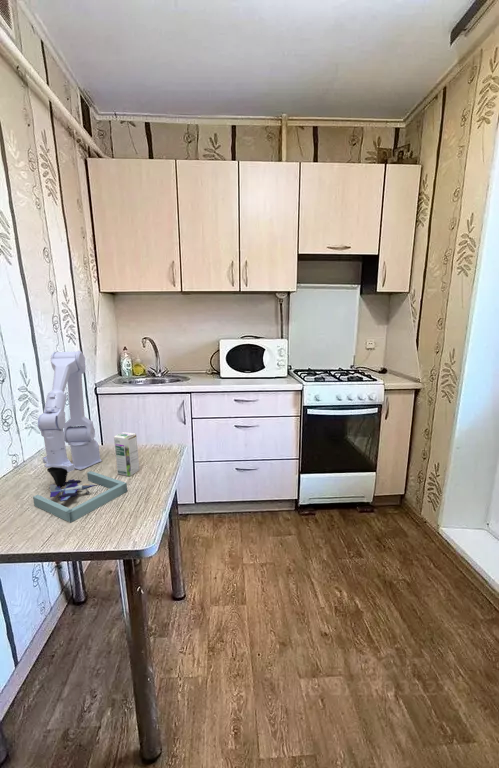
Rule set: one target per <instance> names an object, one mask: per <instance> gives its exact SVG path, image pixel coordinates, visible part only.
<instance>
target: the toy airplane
mask: <svg viewBox="0 0 499 768" xmlns="http://www.w3.org/2000/svg"><path fill="white" fill-rule="evenodd" d="M81 483H82V480H81V479H69V480H68V481H67V480H66V482H64V483H63V485H65V486H64V488H62V487H61V488H60V486H57V485H56V484H49V491H50V492H49V493H50V494H49V496H50V497H49V498H55V497H56V496H57V498H58V499H59V502H64V501H68V500H69V499H71V498H75V497H77V496H78V495H79V493H83V491H84V490H85V491H86V492H85V493H86V495H90V494H91V493H90V491H89V490H88V489H90V488H94V487H96V486H98V484H90V483H83V484H81ZM80 484H81V485H80ZM102 485H103V484H101V485H100V486H102Z"/></svg>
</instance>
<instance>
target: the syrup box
mask: <svg viewBox="0 0 499 768" xmlns="http://www.w3.org/2000/svg"><path fill="white" fill-rule="evenodd" d="M137 437H138V436H137V433H133V432H126V431H123V432H120V433H117V434H116V435H115V436H113V441H114V450H115V452H114V453H115V459H116V469H117V470H116V471H117V472H116V473H117V475H120V476H121V475H122V476H127V477H131V476H133V475H134V474H135V473H137V472H138V471H140V469H141V468H140V461H139V460H140V459H139V449H138V438H137Z"/></svg>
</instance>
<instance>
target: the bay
mask: <svg viewBox="0 0 499 768" xmlns="http://www.w3.org/2000/svg"><path fill="white" fill-rule="evenodd" d="M86 476H87V477H86V478H87V481H88V482H91V483H94V484H95V485H98V486H102V487H105V488H108V489H107V490H105V491H103V492H101V493H99V494H97V495H96V496H94V497H92V498H89V499H88V500H86V501H84V502H81V503H80V504H78V505H76V506H74V507H72V508H69V507H68V506H64V505H62V504H61V503H58V502H56V501H53V500H52V499H50V498H49V499H48V498H47V497H44V496H42V495H41V494H40V495H39V494H36V495H34V496H32V499H33V500H32V501H33V505H34V507H36V508H39V509H41V510H43V511H45V512H46V513H49V514H51V515H53V516H56V517H57V518H60V519H62V520H64V521H66V522H67V523H68V522H69V523H72V522H75V521H76V520H79V519H80V518H81V517H84V516H86V515H87V514H89V513H91V512H93V511H95V510H96V509H98V508H100V507H102V506H104V505H105V504H107V503H109V502H111V501H113V500H114V499H116V498H118V497H120V496H122V495H123V494H125V493H127V492H128V484H127V482H125V481H121V480H119V479H116V478H113V477H110V476H107V475H104V474H101V473H98V472H95V471H92V470H90V471H87V472H86ZM101 484H103V485H101Z"/></svg>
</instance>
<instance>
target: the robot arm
mask: <svg viewBox="0 0 499 768" xmlns="http://www.w3.org/2000/svg"><path fill="white" fill-rule="evenodd" d="M50 364H51V367H52V369H53V371H54V373H53V379H52V380H53V381H52V390H51V391H50V392H48V393H47V395H46V400H45V405H44V409H43V413H41V414H40V415H39V416H38V419H37V428H38V430H39V431H40V434H41V436H42V437H43V443H44V448H45V454H46V455H45V456H44V457H42V463H43V464H44V468H46V470H47V472H48V473H49V474H50V476H51V477H52V479H53V482H54V483H55V485H56V486H60V488H61V489H62V488H63V487H64V488H65V487H66V485H63V483H64V482H67V476H68V473H70V472H73V471H75V469H76V470H78V471H82V470H84V469H87V468H89V467H91V466H94V465H96V464H98V463H99V464H100V462H102V461H103V460H102V459H101V455H100V445H99V443H98V441H97V440H96V439H95V437H96V436H95V435H96V429H95V427H94V423H93V421H92V420H91V419H89V418H88V417H86V416H85V405H84V401H85V400H84V388H83V374H85V373H86V370H87V369H86V366H87V365H86V357H85V354H84V353H83V352H82V350H75V351H53V352H52V353H51V355H50ZM66 386H67V389H68V390H67V391H68V404H69V405H68V406H69V419H68V420H67V421H66V412H65V407H66V403H67V395H66V393H65V390H66ZM66 444H67V445H68V446H70V454H71V460H72V462H71V461H70V459H69V457H68V454H67V448H66Z"/></svg>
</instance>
